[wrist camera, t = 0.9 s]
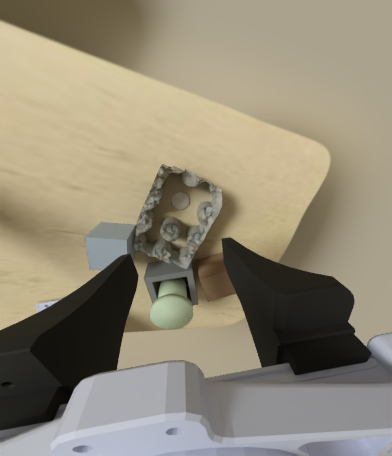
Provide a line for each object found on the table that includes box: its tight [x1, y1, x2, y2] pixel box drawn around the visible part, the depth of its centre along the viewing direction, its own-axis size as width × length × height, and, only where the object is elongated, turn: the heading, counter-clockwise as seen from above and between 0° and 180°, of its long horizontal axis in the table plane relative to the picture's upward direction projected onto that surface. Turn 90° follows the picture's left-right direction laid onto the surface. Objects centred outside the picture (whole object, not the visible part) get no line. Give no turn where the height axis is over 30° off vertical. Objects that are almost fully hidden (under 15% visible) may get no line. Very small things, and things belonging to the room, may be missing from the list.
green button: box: [150, 278, 193, 330], centre depth 21 cm, size 5×5×4 cm
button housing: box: [144, 261, 198, 305], centre depth 23 cm, size 6×6×3 cm
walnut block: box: [197, 252, 236, 302], centre depth 23 cm, size 4×4×4 cm
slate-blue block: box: [85, 222, 136, 270], centre depth 19 cm, size 4×4×4 cm
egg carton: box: [134, 164, 222, 269], centre depth 19 cm, size 11×8×4 cm
